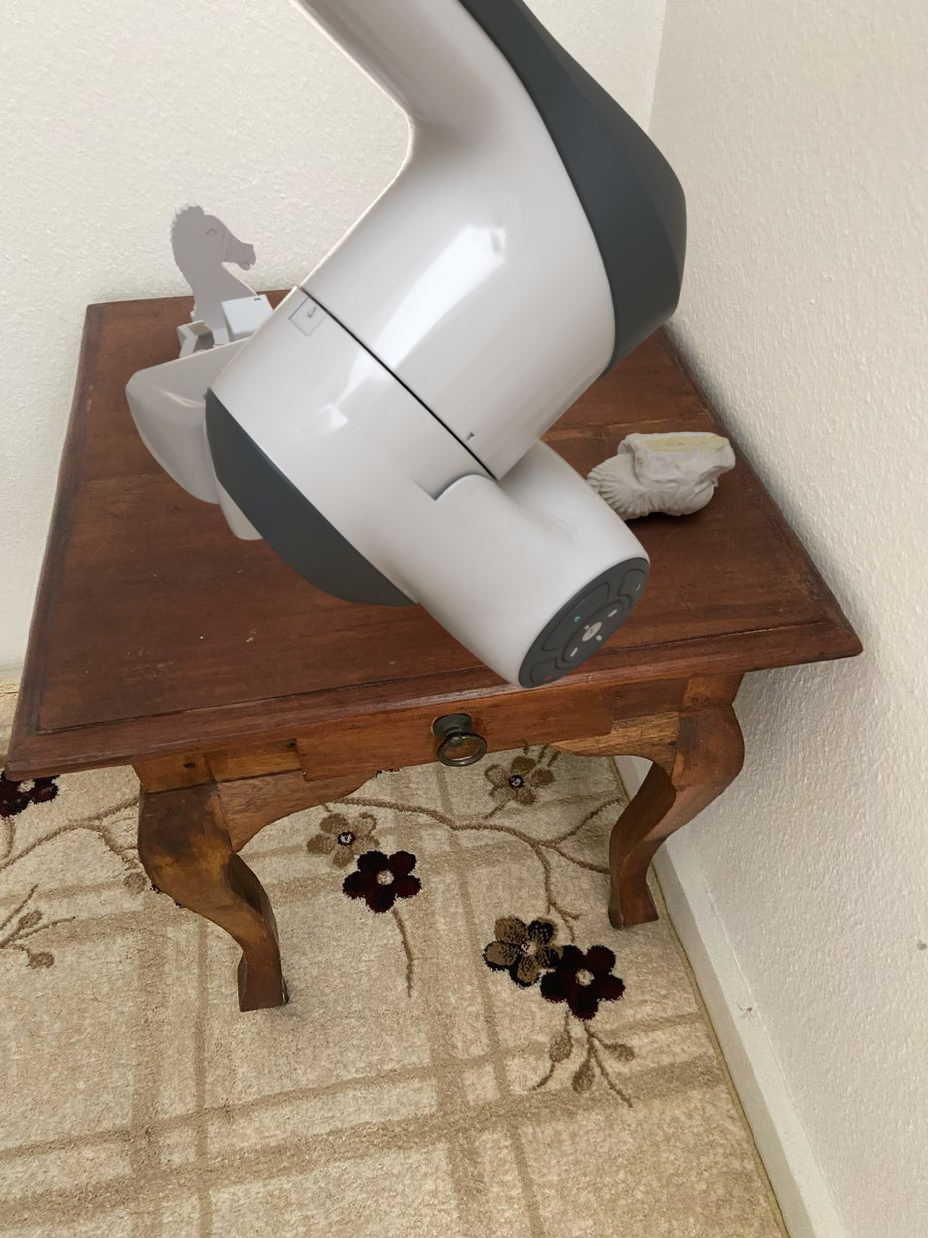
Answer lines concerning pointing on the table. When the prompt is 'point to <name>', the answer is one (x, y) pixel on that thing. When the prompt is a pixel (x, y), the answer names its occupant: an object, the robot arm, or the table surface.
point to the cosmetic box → (245, 315)
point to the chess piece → (210, 264)
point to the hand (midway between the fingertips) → (268, 311)
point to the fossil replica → (662, 473)
